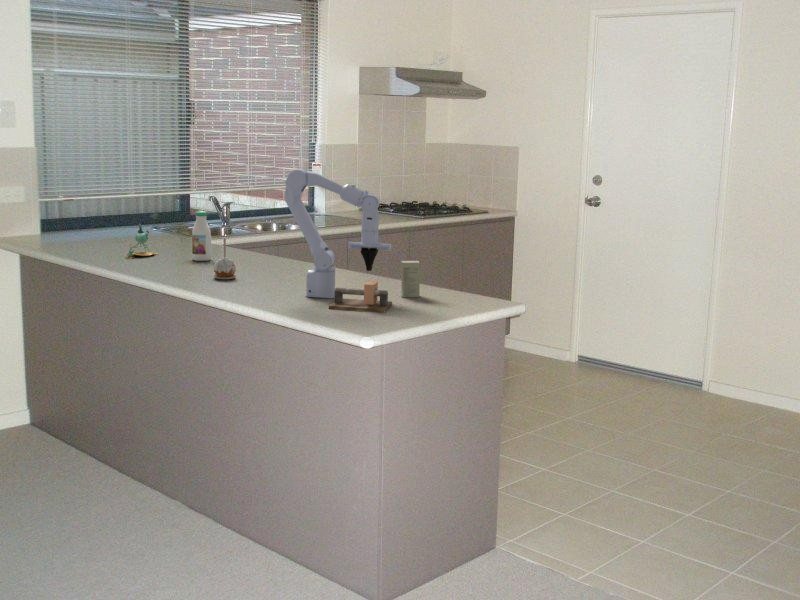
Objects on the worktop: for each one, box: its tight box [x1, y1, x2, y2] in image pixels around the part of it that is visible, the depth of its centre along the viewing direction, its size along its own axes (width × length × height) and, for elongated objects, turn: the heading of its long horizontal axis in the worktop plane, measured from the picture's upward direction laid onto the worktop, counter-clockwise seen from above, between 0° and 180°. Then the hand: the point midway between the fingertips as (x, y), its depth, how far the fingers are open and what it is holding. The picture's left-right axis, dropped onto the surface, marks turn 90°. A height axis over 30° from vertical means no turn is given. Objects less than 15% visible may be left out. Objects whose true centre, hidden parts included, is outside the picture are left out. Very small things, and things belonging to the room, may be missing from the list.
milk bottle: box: [191, 210, 212, 262], centre depth 387 cm, size 8×8×20 cm
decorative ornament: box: [213, 237, 237, 281], centre depth 346 cm, size 8×8×15 cm
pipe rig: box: [328, 287, 393, 313], centre depth 303 cm, size 18×13×6 cm
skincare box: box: [401, 260, 421, 298], centre depth 322 cm, size 6×4×12 cm
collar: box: [363, 280, 379, 305], centre depth 302 cm, size 3×6×6 cm, turn 169°
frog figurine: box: [125, 223, 157, 260], centre depth 394 cm, size 10×18×15 cm, turn 144°
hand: (369, 270), depth 317 cm, fingers closed
